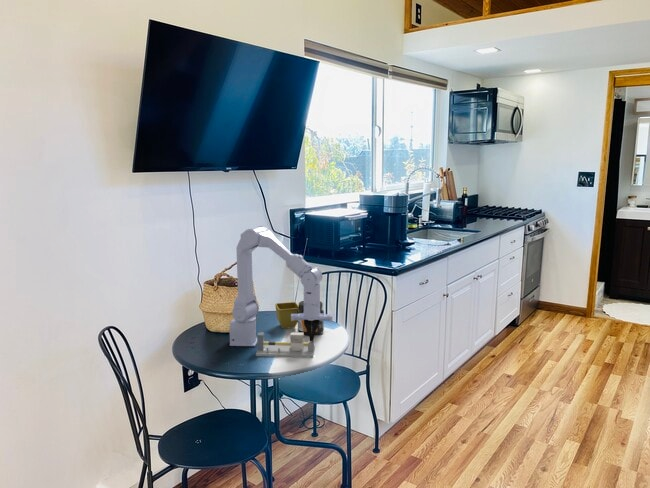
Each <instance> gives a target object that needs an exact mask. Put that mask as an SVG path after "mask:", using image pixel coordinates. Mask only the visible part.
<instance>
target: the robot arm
mask: <svg viewBox="0 0 650 488" xmlns="http://www.w3.org/2000/svg"><path fill="white" fill-rule="evenodd" d="M257 248H268V249H269V250H271V251H272V252H274V253H275V254H276V255H277V256H279V258H281V259H282V260H283V261H285V264H286V267H287V268H288V269H289V271H291V272H292V273H293V274H294V275H296V276H297V277H298V278H299V279H300V283H301V284H302V286H303V301H304V313H300V314H291V321H294V320H304V326H305V327H306V329H307V332H308V335H309V336H308V338H309V340H310V341H314V342H315V336H314V335H315V332H316V329H317V327H318V325H319V321H324V322H333V320H334V319H333V317H334V316H333V315H334V314H327V313H324V314H321V313H320V301H321V281H322V280H323V273H322V271H321V270H320V268H319V267H317V266H316V267H315V266H313V265H312V264H310V263H308V262H307V261H306V259H304V256H303V255H302V254H298V253H292V252H291V251H290V250H289V249H288V248H287V247H286V246H285V245H284V244H283V243H282V242H281V241H280V240H279V239H278V238H277V237H276V236H275V235H274V233H273V232H272V231H271V230H269V229H268V228H267V227H266V226H263V225H259V226H257V227H253V228H248V229H245V230H244V231H243V232H242V233H241V234H240V238H239V241H238V243H237V245H236V272H237V273H236V277H237V295H236V298H235V300H234V301H233V305H234V306H233V308H232V311H231V314H232V317H233V319H231V320H230V322H229V346H231V347H234V346H235V347H256V346H257V323H256V322H257V319H256V318H257V314H258V313H259V311H260V307H259V306H260V305H259V304H258V301H257V296H256V295H255V294H254V286H253V285H254V284H253V256H252V255H253V252H254V251H255V250H256V249H257Z"/></svg>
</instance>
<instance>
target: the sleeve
mask: <svg viewBox="0 0 650 488" xmlns="http://www.w3.org/2000/svg"><path fill="white" fill-rule="evenodd" d="M289 337H290V341H289V342H291V347H292V351H301V347H303V349H304V346H303V342H305V335H304V332H298V331H296V332H293V331H291V332H290V336H289Z"/></svg>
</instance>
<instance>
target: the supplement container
mask: <svg viewBox="0 0 650 488" xmlns="http://www.w3.org/2000/svg"><path fill="white" fill-rule="evenodd" d="M298 306H299V310H298V311H297V314H300V313H304V300H301V301H299V302H298ZM320 313H321V314H325V311H324V304H323V302H322V301H321V300H320ZM324 322H325V321H319V325H318V327H317V329H316V332H315V335H314V337H315V336H319V335H322V334H323V333H324V330H325V326H324V325H325V323H324ZM297 332H304V337H305V336H306V337H309V335H308V332H307V329H306V327H305V326H304V320H298V323H297Z"/></svg>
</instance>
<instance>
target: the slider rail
mask: <svg viewBox="0 0 650 488" xmlns="http://www.w3.org/2000/svg"><path fill="white" fill-rule="evenodd" d="M256 338H257V343H256V347H257V350H256V352H255V357H278V358H282V357H283V358H284V357H285V358H286V357H287V358H314V354H315V349H316V345H315V340H314V341H310V339H309V340H308V341H307V342H305V341H304V342H303V346H304V349H303V347H301V351H292V347H291V341H265V332H261V331H259V332H257V334H256Z"/></svg>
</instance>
